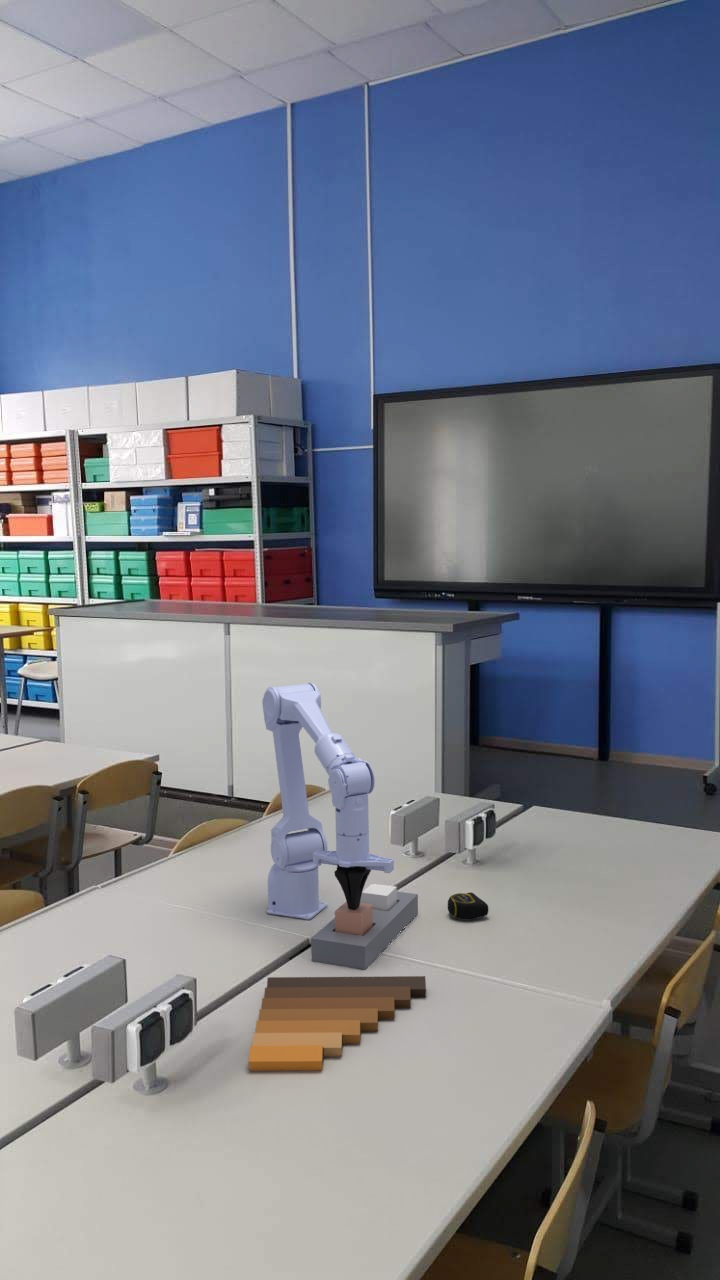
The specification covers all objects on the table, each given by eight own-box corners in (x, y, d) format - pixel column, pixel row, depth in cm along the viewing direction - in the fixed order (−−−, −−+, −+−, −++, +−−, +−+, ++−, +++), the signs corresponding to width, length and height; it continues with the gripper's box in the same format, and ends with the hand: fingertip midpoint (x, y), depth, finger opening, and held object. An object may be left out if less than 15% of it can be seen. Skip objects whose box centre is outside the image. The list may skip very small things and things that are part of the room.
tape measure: (490, 921, 189) (490, 901, 188) (456, 925, 187) (456, 906, 186) (474, 908, 195) (474, 889, 195) (442, 912, 193) (442, 893, 193)
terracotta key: (335, 936, 175) (334, 911, 174) (347, 925, 179) (346, 901, 179) (361, 940, 173) (361, 914, 172) (372, 929, 177) (372, 904, 177)
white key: (362, 916, 186) (361, 892, 185) (372, 906, 190) (372, 883, 190) (387, 919, 184) (387, 895, 183) (397, 910, 189) (396, 886, 188)
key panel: (311, 960, 172) (311, 938, 172) (369, 907, 196) (369, 887, 195) (365, 969, 168) (365, 946, 168) (418, 914, 192) (417, 894, 191)
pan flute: (425, 991, 161) (269, 992, 162) (424, 971, 161) (268, 972, 161) (432, 1075, 136) (249, 1076, 137) (432, 1051, 136) (248, 1052, 136)
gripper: (304, 833, 173) (306, 909, 175) (382, 842, 168) (383, 921, 169) (321, 822, 180) (323, 896, 181) (397, 830, 174) (398, 906, 176)
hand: (353, 907), depth 176 cm, fingers closed
